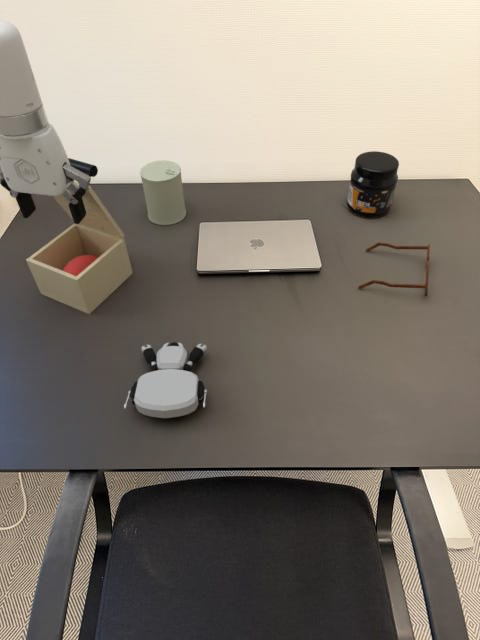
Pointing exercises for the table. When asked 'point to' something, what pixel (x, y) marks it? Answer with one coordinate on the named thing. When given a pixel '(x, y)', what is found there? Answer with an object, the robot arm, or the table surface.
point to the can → (163, 192)
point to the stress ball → (79, 264)
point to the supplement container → (372, 184)
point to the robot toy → (169, 382)
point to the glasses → (401, 284)
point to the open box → (89, 283)
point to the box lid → (91, 204)
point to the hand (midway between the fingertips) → (55, 216)
